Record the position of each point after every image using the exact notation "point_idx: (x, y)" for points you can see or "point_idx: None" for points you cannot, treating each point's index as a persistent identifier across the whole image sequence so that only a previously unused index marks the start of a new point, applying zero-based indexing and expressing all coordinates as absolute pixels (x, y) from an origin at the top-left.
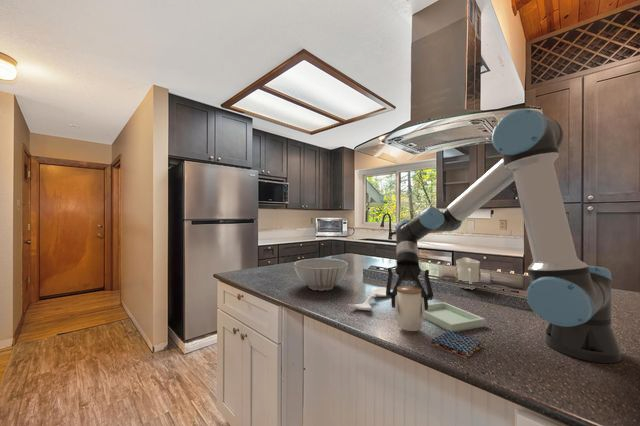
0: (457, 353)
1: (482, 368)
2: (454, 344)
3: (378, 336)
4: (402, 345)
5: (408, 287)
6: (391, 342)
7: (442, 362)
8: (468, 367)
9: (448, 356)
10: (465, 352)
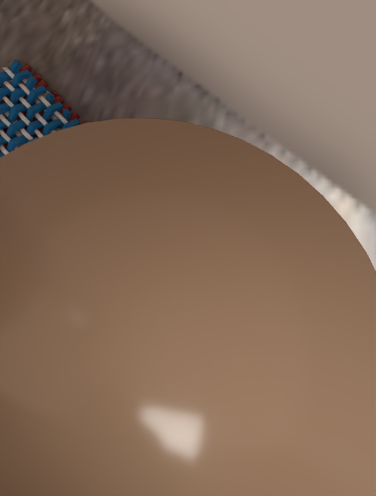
0: (43, 81)
1: (2, 14)
2: (25, 122)
3: (362, 223)
4: (252, 143)
5: (121, 448)
6: (300, 166)
7: (124, 32)
8: (46, 13)
9: (85, 76)
10: (10, 71)
